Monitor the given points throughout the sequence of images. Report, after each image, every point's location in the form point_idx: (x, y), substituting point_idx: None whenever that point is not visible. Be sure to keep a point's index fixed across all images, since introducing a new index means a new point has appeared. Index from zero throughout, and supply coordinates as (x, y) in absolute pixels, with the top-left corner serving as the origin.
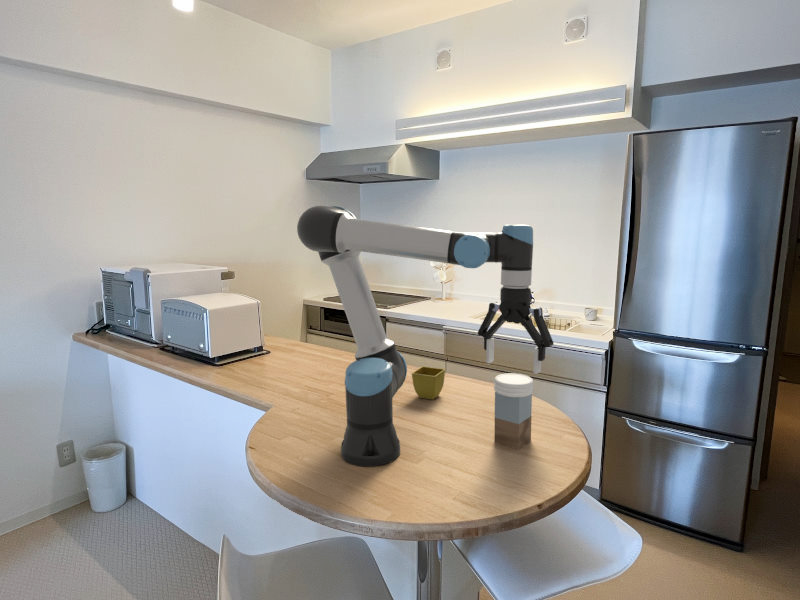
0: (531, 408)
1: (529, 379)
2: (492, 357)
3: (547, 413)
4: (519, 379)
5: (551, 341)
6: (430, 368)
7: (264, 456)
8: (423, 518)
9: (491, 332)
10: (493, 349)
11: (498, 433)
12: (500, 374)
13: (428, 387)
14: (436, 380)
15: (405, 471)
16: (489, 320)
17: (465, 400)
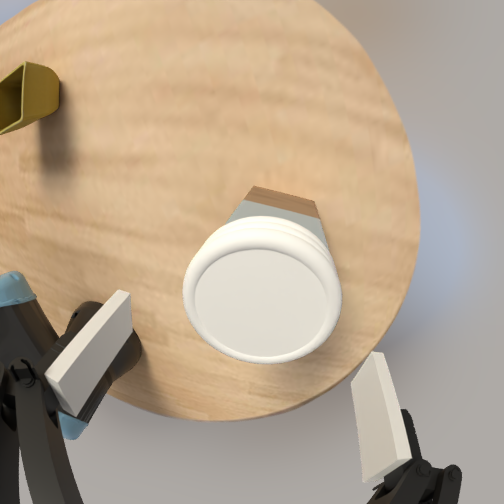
0: (321, 226)
1: (325, 293)
2: (119, 316)
3: (314, 29)
4: (283, 306)
5: (452, 487)
6: (7, 77)
7: None
8: (237, 416)
9: (66, 456)
10: (97, 338)
11: None
12: (189, 280)
13: (34, 120)
14: (31, 111)
15: (169, 363)
16: (10, 484)
17: (107, 61)
